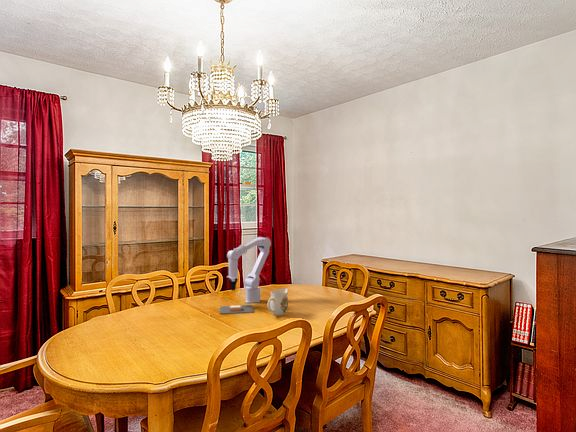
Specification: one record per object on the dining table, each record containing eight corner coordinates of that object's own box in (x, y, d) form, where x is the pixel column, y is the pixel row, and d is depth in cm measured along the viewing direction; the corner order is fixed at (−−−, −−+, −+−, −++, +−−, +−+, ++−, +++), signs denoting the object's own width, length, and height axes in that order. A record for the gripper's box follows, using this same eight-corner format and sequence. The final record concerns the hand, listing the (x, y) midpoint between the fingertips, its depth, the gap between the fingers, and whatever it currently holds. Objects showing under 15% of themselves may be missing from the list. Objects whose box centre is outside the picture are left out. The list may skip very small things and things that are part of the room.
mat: (252, 305, 218) (252, 304, 218) (253, 312, 204) (253, 311, 204) (220, 307, 215) (220, 306, 215) (219, 314, 201) (219, 313, 201)
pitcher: (260, 316, 197) (260, 292, 197) (280, 308, 212) (280, 286, 211) (275, 320, 191) (275, 295, 190) (294, 312, 205) (294, 289, 205)
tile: (240, 304, 211) (241, 307, 206) (240, 308, 211) (241, 310, 206) (229, 305, 210) (229, 307, 205) (229, 308, 210) (229, 311, 205)
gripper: (227, 267, 225) (227, 287, 225) (226, 271, 210) (226, 293, 211) (237, 266, 226) (237, 287, 226) (238, 271, 212) (238, 292, 212)
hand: (233, 290), depth 219 cm, fingers closed
